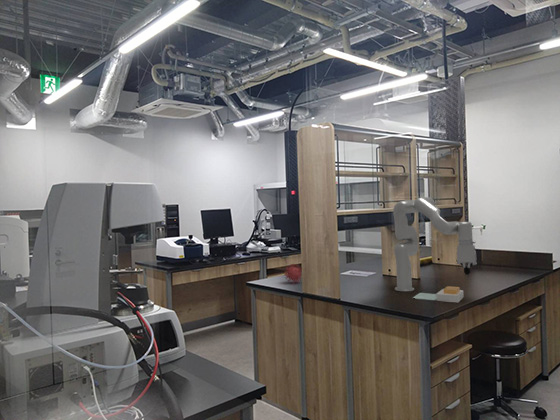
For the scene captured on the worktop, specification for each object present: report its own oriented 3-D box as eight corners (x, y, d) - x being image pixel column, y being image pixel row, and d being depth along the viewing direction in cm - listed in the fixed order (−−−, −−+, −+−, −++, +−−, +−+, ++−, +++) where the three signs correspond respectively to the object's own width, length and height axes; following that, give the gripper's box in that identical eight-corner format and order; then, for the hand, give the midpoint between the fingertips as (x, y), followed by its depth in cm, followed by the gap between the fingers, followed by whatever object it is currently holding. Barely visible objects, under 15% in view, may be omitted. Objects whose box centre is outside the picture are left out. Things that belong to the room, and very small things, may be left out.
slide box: (447, 290, 253) (447, 286, 253) (459, 291, 249) (459, 287, 249) (443, 293, 244) (443, 289, 244) (456, 294, 240) (456, 290, 240)
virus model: (282, 284, 311) (281, 265, 311) (287, 281, 326) (286, 262, 325) (301, 285, 307) (300, 265, 307) (305, 281, 322) (305, 262, 322)
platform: (442, 295, 257) (442, 288, 257) (463, 297, 250) (463, 290, 250) (436, 300, 244) (436, 293, 244) (458, 302, 237) (458, 295, 237)
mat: (419, 293, 265) (419, 292, 265) (441, 295, 258) (441, 294, 258) (412, 298, 252) (412, 297, 252) (434, 300, 244) (434, 299, 244)
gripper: (480, 242, 240) (482, 274, 240) (453, 242, 249) (455, 273, 249) (478, 243, 234) (480, 275, 234) (450, 243, 243) (452, 274, 242)
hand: (467, 274), depth 241 cm, fingers closed
